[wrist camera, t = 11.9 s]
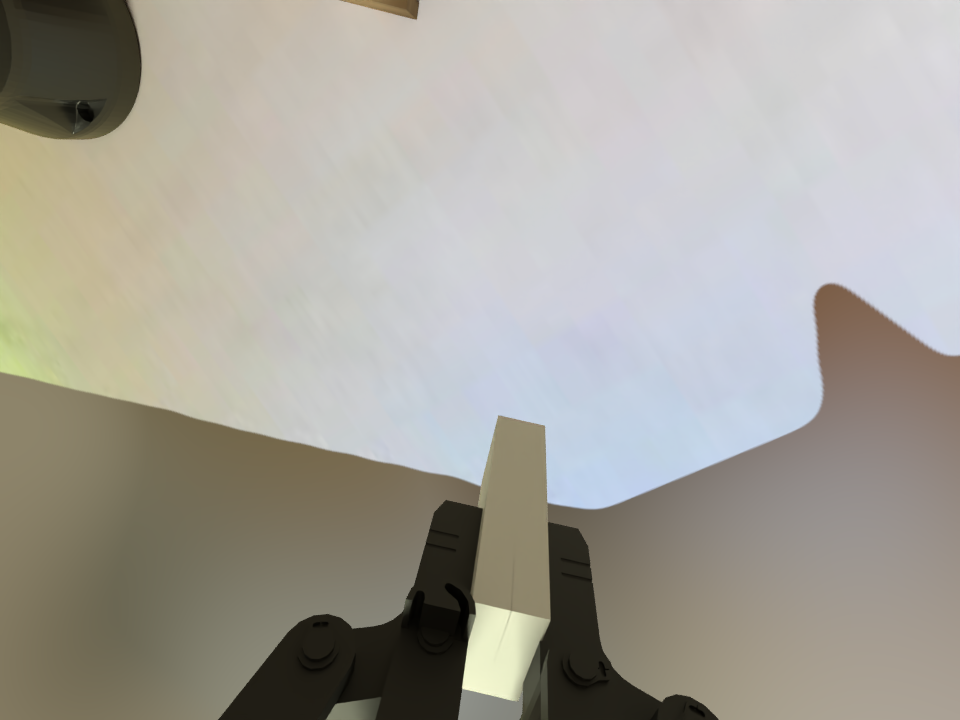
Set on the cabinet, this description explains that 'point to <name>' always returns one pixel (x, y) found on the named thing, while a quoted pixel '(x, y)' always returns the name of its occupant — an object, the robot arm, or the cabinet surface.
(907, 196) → the cabinet surface
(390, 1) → the dock
